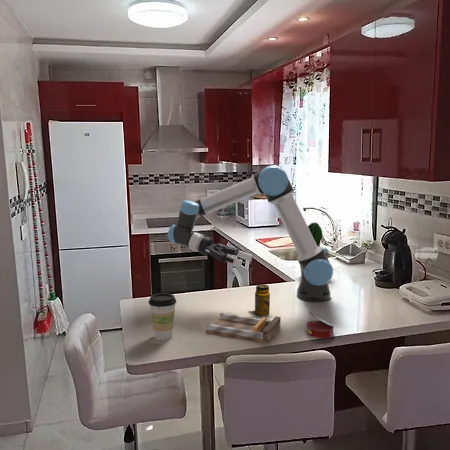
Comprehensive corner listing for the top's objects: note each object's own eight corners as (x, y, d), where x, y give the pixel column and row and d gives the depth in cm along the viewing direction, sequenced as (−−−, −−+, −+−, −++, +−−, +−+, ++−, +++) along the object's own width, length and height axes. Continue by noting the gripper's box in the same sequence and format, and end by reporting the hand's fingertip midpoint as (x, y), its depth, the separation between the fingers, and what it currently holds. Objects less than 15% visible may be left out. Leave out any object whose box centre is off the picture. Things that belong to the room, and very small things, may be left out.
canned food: (308, 340, 170) (309, 313, 173) (335, 341, 166) (335, 314, 170) (302, 336, 160) (302, 308, 164) (330, 338, 157) (331, 309, 160)
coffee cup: (145, 341, 157) (144, 300, 155) (154, 330, 167) (153, 291, 164) (172, 343, 156) (172, 302, 153) (180, 332, 165) (179, 293, 163)
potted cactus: (316, 272, 247) (318, 218, 242) (332, 279, 233) (335, 222, 228) (292, 274, 242) (293, 220, 237) (307, 282, 228) (309, 224, 223)
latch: (253, 335, 160) (253, 327, 160) (262, 325, 170) (262, 317, 169) (256, 335, 160) (256, 327, 159) (265, 325, 169) (265, 317, 169)
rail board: (205, 332, 165) (205, 321, 164) (221, 318, 179) (222, 308, 178) (268, 343, 156) (268, 331, 155) (280, 328, 169) (280, 317, 169)
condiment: (272, 316, 182) (273, 287, 180) (252, 318, 180) (253, 289, 178) (266, 310, 189) (267, 282, 187) (247, 311, 187) (247, 284, 185)
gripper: (210, 248, 204) (253, 264, 197) (186, 256, 181) (234, 275, 174) (214, 232, 203) (258, 248, 196) (191, 239, 179) (239, 257, 173)
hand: (246, 261), depth 185 cm, fingers open, 13 cm apart
